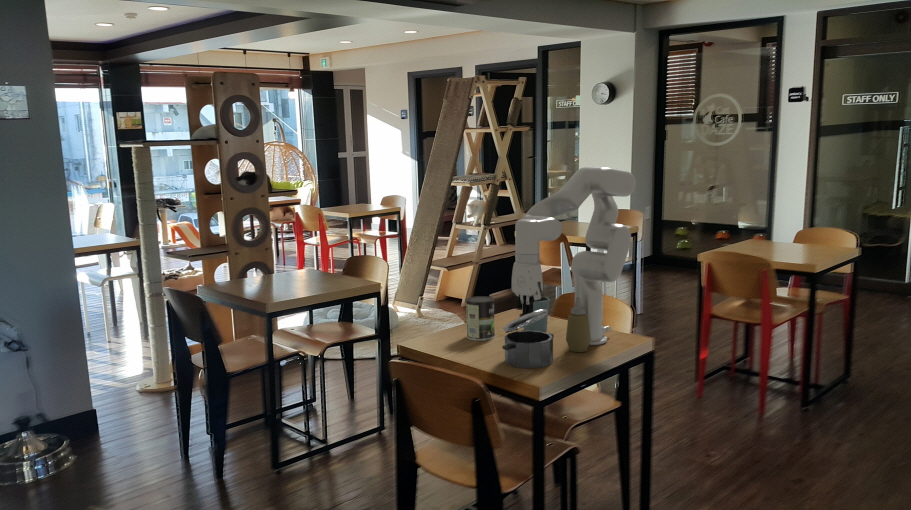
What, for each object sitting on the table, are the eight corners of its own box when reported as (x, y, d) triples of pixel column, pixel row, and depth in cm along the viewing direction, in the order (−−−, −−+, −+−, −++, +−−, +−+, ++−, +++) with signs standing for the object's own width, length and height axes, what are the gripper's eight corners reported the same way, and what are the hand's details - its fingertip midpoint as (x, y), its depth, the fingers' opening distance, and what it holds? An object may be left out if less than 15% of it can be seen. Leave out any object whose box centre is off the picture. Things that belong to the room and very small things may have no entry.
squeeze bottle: (585, 355, 231) (585, 301, 228) (562, 351, 235) (561, 299, 233) (594, 348, 238) (594, 296, 235) (571, 345, 242) (571, 294, 239)
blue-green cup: (517, 331, 262) (517, 299, 260) (529, 325, 270) (529, 294, 268) (542, 334, 256) (542, 302, 254) (553, 328, 265) (553, 296, 263)
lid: (527, 327, 236) (524, 319, 237) (556, 308, 225) (553, 300, 225) (494, 336, 227) (490, 328, 228) (522, 317, 215) (518, 308, 216)
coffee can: (496, 333, 260) (496, 296, 258) (492, 341, 250) (491, 302, 248) (469, 332, 262) (468, 295, 260) (464, 340, 252) (463, 302, 250)
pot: (534, 349, 239) (534, 326, 238) (568, 359, 227) (568, 335, 226) (488, 362, 227) (487, 338, 225) (521, 373, 215) (521, 348, 213)
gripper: (502, 257, 225) (503, 313, 228) (535, 262, 213) (535, 322, 216) (520, 254, 229) (520, 309, 232) (553, 260, 218) (553, 318, 221)
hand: (527, 315), depth 224 cm, fingers closed
